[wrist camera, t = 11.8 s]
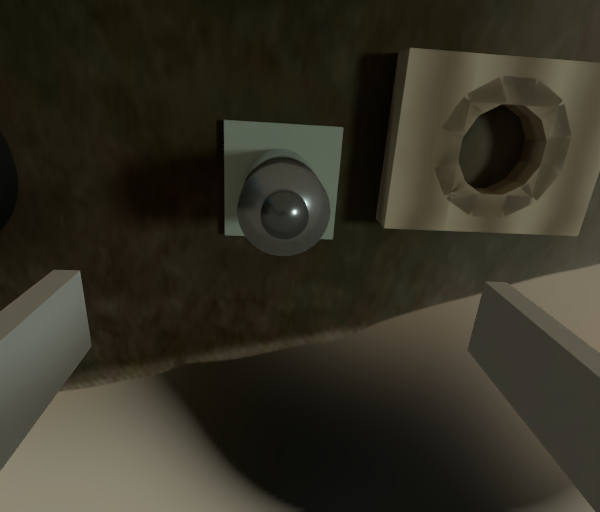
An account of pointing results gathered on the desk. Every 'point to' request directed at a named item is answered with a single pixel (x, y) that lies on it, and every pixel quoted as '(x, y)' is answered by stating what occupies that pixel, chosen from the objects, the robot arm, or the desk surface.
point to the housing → (458, 119)
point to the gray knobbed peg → (283, 204)
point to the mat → (266, 136)
